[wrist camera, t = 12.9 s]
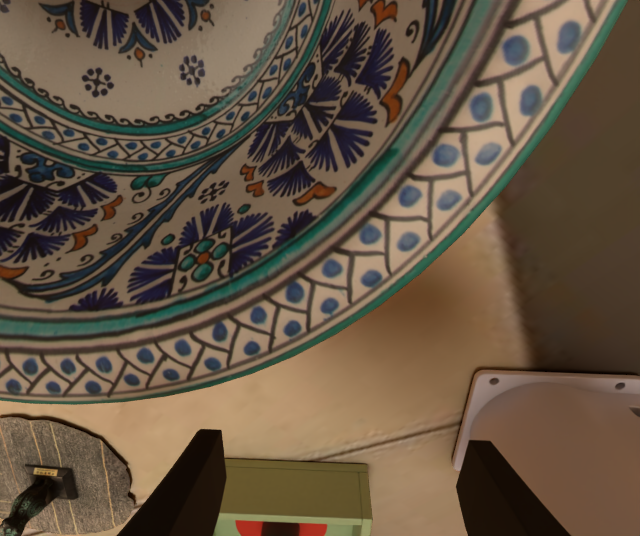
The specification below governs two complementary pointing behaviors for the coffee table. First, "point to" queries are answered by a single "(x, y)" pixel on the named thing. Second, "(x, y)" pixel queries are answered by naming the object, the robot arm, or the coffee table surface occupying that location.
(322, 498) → the open box
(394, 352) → the coffee table surface
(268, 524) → the lid
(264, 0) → the bowl
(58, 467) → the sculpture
